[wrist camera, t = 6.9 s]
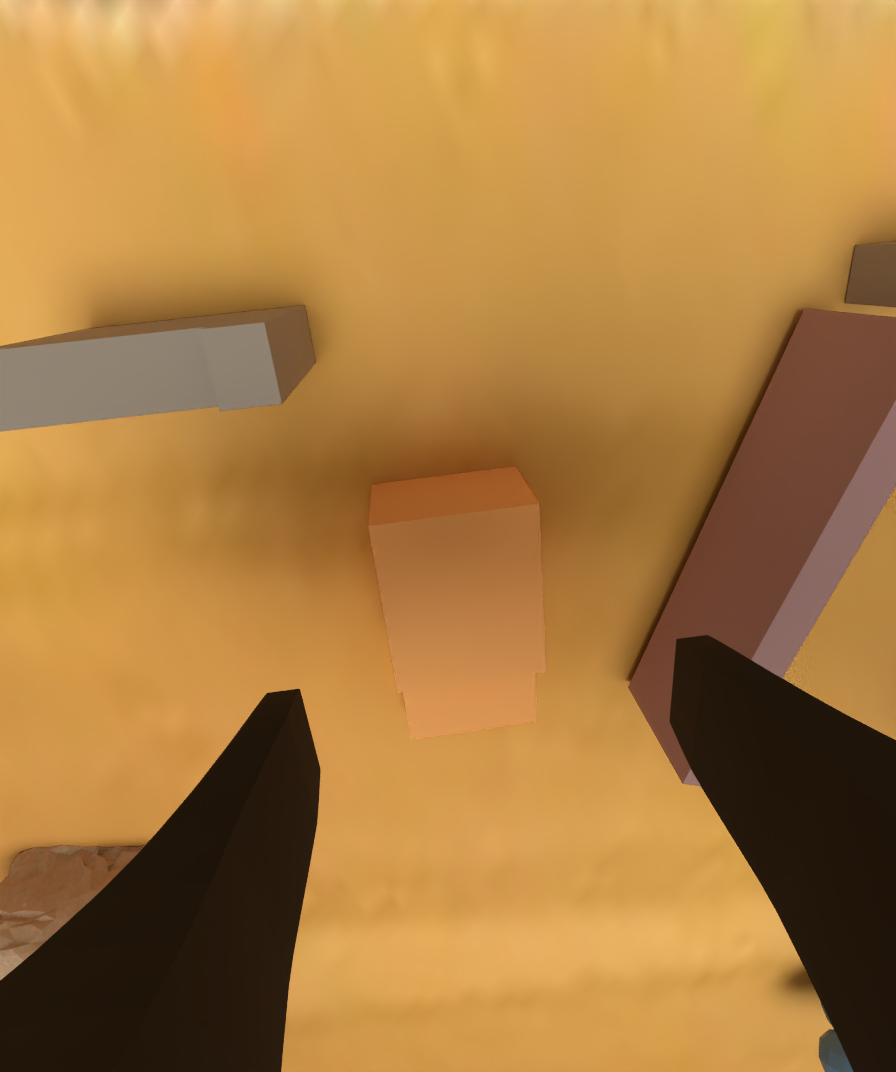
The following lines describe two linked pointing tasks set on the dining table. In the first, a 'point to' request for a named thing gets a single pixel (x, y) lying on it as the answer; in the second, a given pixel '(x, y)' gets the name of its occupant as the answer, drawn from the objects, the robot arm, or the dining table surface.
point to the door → (786, 508)
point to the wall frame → (221, 359)
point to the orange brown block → (461, 597)
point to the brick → (51, 893)
